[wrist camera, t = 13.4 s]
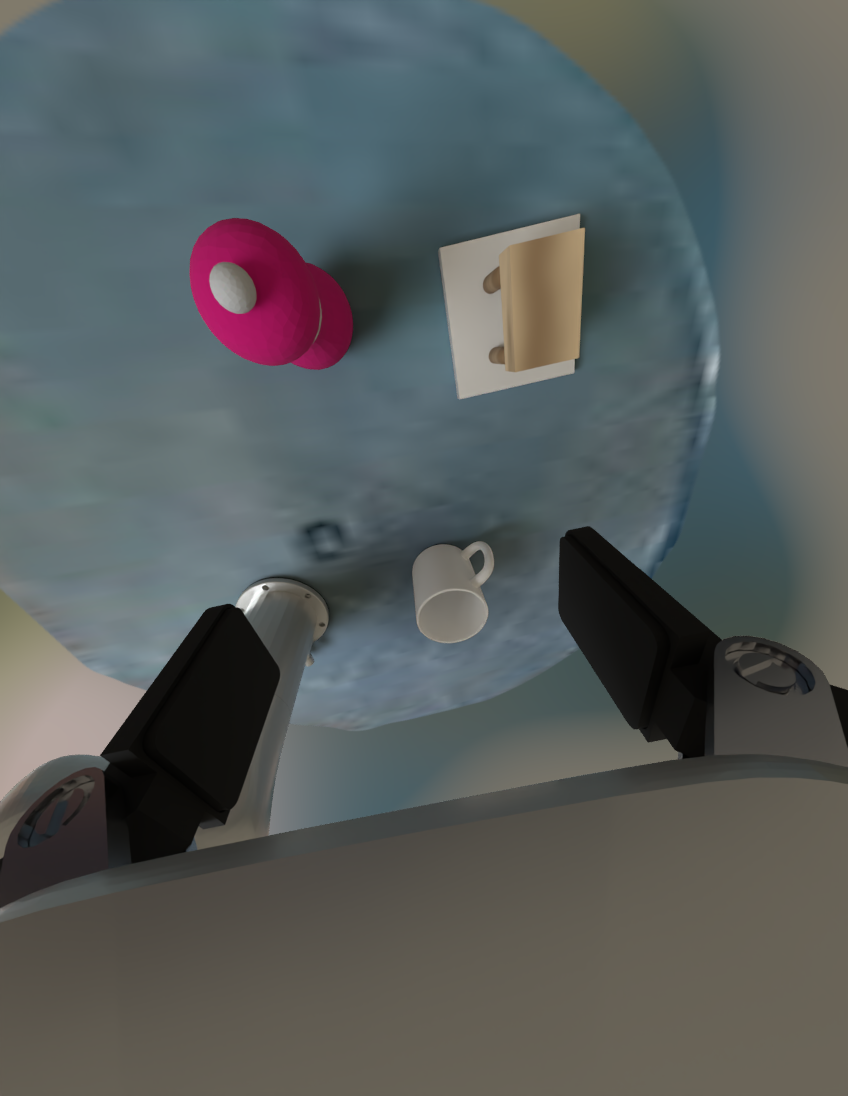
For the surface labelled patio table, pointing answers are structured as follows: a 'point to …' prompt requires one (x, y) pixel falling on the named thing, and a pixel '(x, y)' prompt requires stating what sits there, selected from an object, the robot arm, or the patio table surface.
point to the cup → (450, 592)
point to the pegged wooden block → (539, 300)
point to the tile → (487, 310)
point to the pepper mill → (268, 297)
